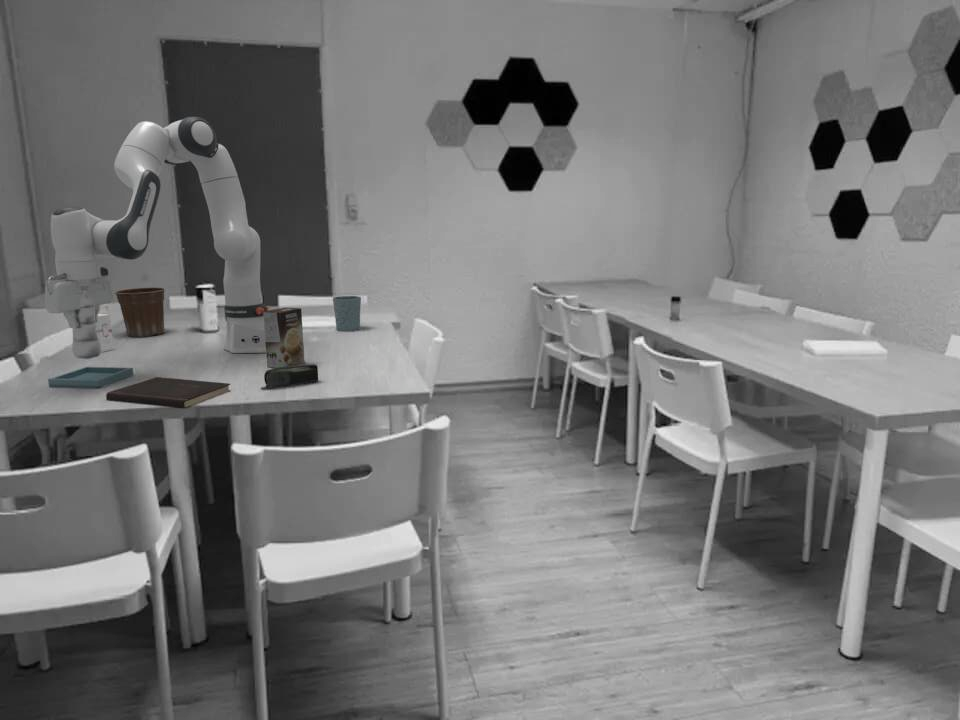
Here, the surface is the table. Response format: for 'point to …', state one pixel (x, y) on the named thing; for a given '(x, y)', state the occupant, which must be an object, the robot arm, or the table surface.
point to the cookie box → (284, 337)
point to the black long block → (290, 376)
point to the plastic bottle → (86, 329)
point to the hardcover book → (168, 392)
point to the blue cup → (347, 313)
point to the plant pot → (142, 311)
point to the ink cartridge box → (104, 329)
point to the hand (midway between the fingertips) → (84, 325)
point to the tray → (90, 377)
